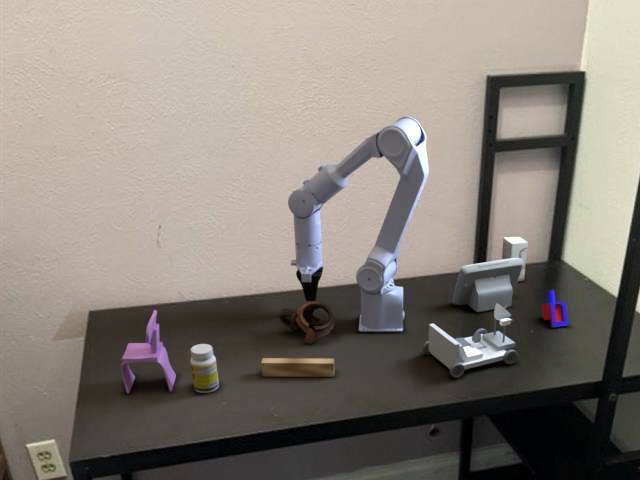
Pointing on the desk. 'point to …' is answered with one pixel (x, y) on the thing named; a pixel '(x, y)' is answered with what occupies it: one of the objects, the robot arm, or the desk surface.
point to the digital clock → (487, 284)
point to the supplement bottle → (204, 368)
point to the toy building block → (555, 311)
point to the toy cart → (472, 346)
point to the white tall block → (515, 251)
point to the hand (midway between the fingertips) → (311, 300)
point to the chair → (147, 355)
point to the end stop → (298, 367)
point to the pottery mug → (307, 320)
